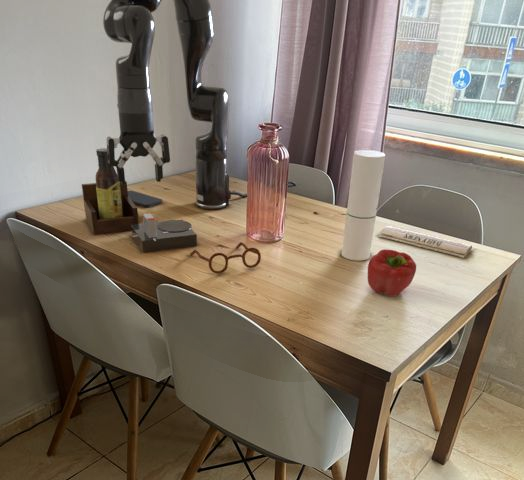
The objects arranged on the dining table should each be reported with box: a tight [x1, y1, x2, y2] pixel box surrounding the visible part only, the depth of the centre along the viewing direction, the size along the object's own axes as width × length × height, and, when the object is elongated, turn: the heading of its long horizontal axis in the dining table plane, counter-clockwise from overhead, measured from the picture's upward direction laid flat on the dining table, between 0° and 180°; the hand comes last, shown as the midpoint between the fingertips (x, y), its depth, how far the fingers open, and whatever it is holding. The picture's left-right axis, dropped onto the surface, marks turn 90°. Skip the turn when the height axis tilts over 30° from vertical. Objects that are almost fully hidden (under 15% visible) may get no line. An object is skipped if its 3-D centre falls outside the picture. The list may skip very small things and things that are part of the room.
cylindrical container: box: [341, 149, 386, 261], centre depth 133 cm, size 7×7×25 cm
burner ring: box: [158, 219, 192, 232], centre depth 143 cm, size 9×9×1 cm
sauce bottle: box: [95, 147, 123, 219], centre depth 145 cm, size 6×6×20 cm
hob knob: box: [142, 213, 157, 238], centre depth 136 cm, size 5×2×5 cm, turn 25°
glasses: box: [189, 241, 262, 275], centre depth 131 cm, size 13×13×5 cm
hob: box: [130, 221, 198, 253], centre depth 141 cm, size 16×13×3 cm
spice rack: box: [81, 180, 140, 235], centre depth 148 cm, size 12×12×10 cm
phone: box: [127, 190, 163, 208], centre depth 169 cm, size 7×1×15 cm
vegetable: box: [367, 248, 417, 297], centre depth 119 cm, size 11×10×10 cm
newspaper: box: [378, 225, 473, 258], centre depth 148 cm, size 24×7×2 cm, turn 56°
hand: (140, 182), depth 131 cm, fingers open, 8 cm apart
